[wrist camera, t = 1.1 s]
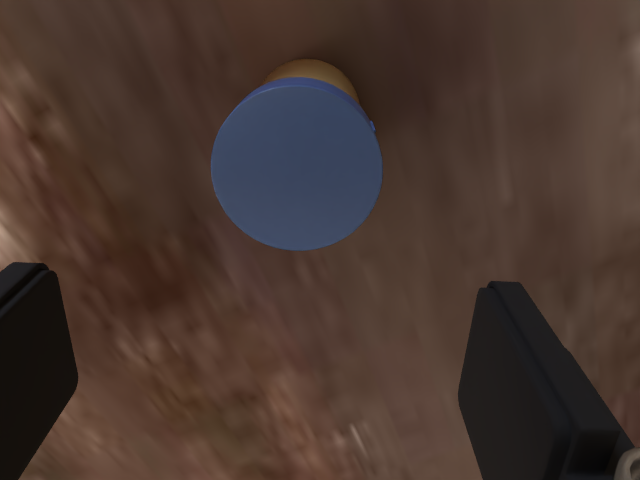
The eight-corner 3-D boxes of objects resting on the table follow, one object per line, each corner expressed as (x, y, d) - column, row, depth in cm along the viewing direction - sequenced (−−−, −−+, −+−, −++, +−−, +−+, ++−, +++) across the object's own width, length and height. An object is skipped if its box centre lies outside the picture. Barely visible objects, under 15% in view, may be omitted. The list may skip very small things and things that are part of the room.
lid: (335, 44, 20) (335, 49, 18) (404, 188, 23) (412, 207, 21) (190, 125, 22) (176, 138, 20) (271, 252, 24) (266, 275, 22)
